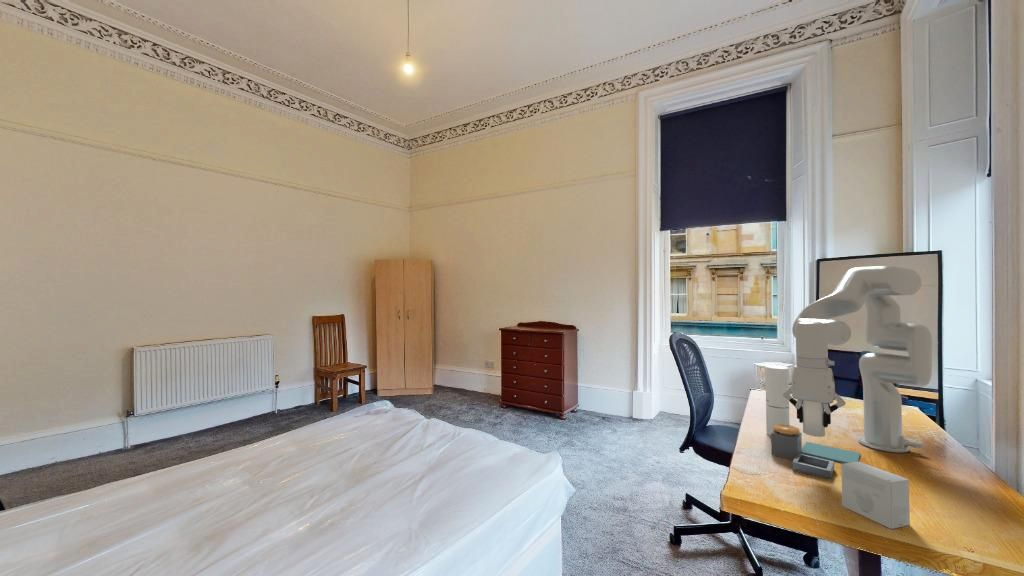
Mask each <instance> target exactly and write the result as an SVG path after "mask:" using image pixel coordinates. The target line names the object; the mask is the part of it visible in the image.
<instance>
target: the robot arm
mask: <svg viewBox="0 0 1024 576" xmlns="http://www.w3.org/2000/svg"><path fill="white" fill-rule="evenodd" d="M921 287H922V277H921V275H920V274H919V273H918V272H917V271H916V270H914V269H912V268H907V267H901V266H895V265H875V266H873V265H872V266H871V265H870V266H859V267H858V266H856V267H852V268H850V269H848V270H846V272H845V273H844V274H843V276H842V277H841V279H840V280H839V281H838V283H837V284H836V286H835V287H834V289H833V290H832V292H831V293H830V294H829V295H827V296H824V297H822V298H819V299H818V300H816V301H814V302H812V303H810V304H808V305H806V306H805V307H804V308H803V309H802V310H801V311H800V313H799V314H798V316H797V317H796V318H795V320H794V322H793V324H792V327H791V328H792V329H791V330H792V335H793V337H794V338H795V357H796V359H795V360H796V361H795V362H796V363H795V365H793V368H792V369H793V370H792V375H791V376H792V377H791V386H790V387H789V390H787V391H786V392H785V393H784V394H783V396H784V397H785V398H786V399H787V400H789V404H791V405H792V406H794V409H795V410H796V419H797V420H798V421H799V422H798V423H800V424H803V410H802V401H803V400H807V401H814V402H820V403H822V404H823V407H824V414H823V417H824V427H825V429H826V428H828V427H829V425H831V423H832V419H831V418H832V416H831V414H832V413H834V412H835V411H836V410H838V409H840V408H842V407H845V406H846V401H845V400H844V399H843V398H842V397H841V396H840V395H839V394H838V393H837V392H836V385H835V378H834V373H833V370H832V368H830V367H831V366H835V360H831V359H829V357H828V355H829V354H828V353H829V351H828V350H829V349H828V347H829V346H830V345H831V346H841V345H844V344H846V343H847V342H849V340H850V339H851V337H852V330H851V327H850V326H849V325H848V324H847V323H846V322H845V321H842V320H838V319H831V318H836V317H842V316H847V315H850V314H853V313H856V312H858V311H859V310H861V308H862V307H863V305H865V308H866V323H865V325H866V326H865V339H866V342H867V344H868V346H870V347H872V348H874V349H880V350H887V351H888V350H889V351H897V352H907V354H908V355H902V354H895V353H882V352H868V353H865V354H863V355H862V356H861V357H860V358H859V359H858V360H859V361H858V368H859V371H860V376H861V380H862V392H863V393H862V394H863V401H862V402H863V435H861V436H858V440H857V441H858V443H860V444H861V445H863V446H865V447H868V448H871V449H874V450H879V451H882V452H887V453H888V452H889V453H896V454H898V453H899V454H901V453H902V454H904V453H907V452H909V451H910V447H913V448H917V449H923V442H920V441H917V440H916V439H909V438H907V437H905V436H904V433H903V417H902V416H903V409H902V408H903V407H902V395H901V393H900V391H899V390H898V388H897V387H896V386H895V385H894V384H898V385H903V386H905V385H906V386H910V387H916V388H917V387H918V388H921V387H926V386H928V384H929V383H930V382H931V380H932V373H933V372H932V370H933V369H932V368H933V338H932V337H933V336H932V333H931V330H930V329H929V327H927V326H926V325H923V324H922V323H917V322H916V323H913V322H902V319H901V307H900V305H899V303H898V302H897V301H896V300H895V299H894V298H893V297H892V296H913V295H916V294H917V293H918V292H919V291H920V290H921V289H922V288H921ZM834 401H836V403H834ZM831 404H832V405H831Z"/></svg>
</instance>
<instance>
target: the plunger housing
mask: <svg viewBox="0 0 1024 576" xmlns="http://www.w3.org/2000/svg"><path fill="white" fill-rule="evenodd" d="M802 433H803V432H800V434H797V435H793V436H789V435H784V434H780V433H779V432H777V431H775V430H773V432H772V433H771V436H770V439H771V443H770V444H771V446H770V447H771V450H770V451H771V455H772V456H775V455H776V457H780V458H784V459H789V460H792V461H793V460H794V459H795V457H796V456H797V454H798V453H800V454H802V448H803V444H802V440H803V438H802V437H803V436H802V435H803V434H802Z"/></svg>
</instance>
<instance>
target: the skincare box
mask: <svg viewBox="0 0 1024 576" xmlns="http://www.w3.org/2000/svg"><path fill="white" fill-rule="evenodd" d="M840 464H841V466H840V467H841V498H842V499H841V506H842V508H845V509H847V510H850V511H853V512H854V513H856V514H859V515H860V516H862V517H865V518H867V519H869V520H871V521H873V522H875V523H877V524H879V525H882V526H884V527H886V528H888V529H891V530H893V529H894V530H895V529H898V528H902V527H906V526H909V525H911V522H910V521H911V520H910V518H911V517H910V479H909V478H906V477H903V476H900V475H898V474H894V473H893V472H889V471H886V470H883V469H880V468H877V467H876V466H872V465H869V464H866V463H865V462H861V461H860V460H859V461H858V462H851V463H840Z"/></svg>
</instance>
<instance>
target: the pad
mask: <svg viewBox="0 0 1024 576" xmlns="http://www.w3.org/2000/svg"><path fill="white" fill-rule="evenodd" d="M802 454H804V455H808V456H813V457H817V458H821V459H826V460H830V461H834V463H835V462H836V463H840V464H844V463H851V462H858V461H859V462H860V457H861V453H860V452H857V451H853V450H848V449H843V448H839V447H834V446H829V445H825V444H821V443H816V442H811V441H806V442H805V443H804V444H803V445H802Z"/></svg>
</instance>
